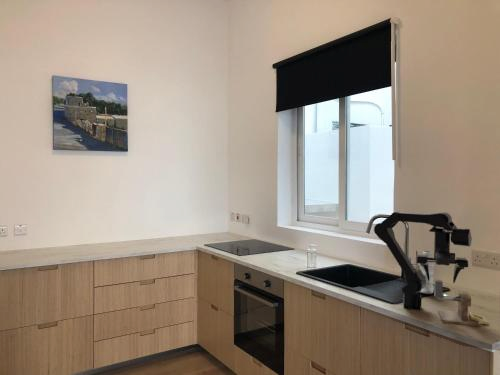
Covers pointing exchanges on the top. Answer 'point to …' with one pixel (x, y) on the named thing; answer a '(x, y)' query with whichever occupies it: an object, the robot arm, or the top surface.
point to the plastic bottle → (429, 284)
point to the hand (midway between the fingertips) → (441, 281)
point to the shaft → (439, 292)
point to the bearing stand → (459, 312)
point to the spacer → (477, 318)
